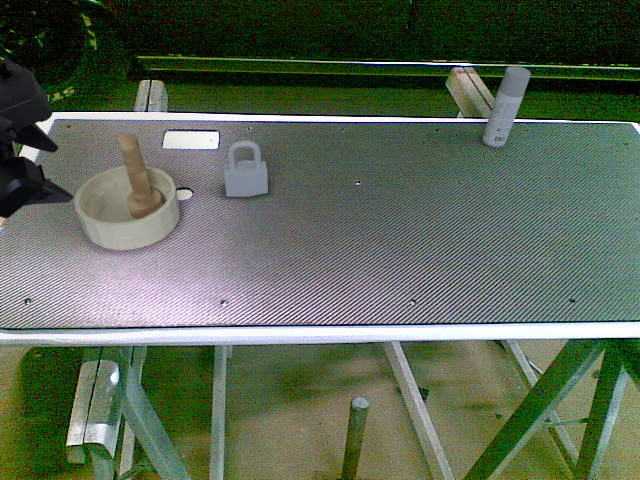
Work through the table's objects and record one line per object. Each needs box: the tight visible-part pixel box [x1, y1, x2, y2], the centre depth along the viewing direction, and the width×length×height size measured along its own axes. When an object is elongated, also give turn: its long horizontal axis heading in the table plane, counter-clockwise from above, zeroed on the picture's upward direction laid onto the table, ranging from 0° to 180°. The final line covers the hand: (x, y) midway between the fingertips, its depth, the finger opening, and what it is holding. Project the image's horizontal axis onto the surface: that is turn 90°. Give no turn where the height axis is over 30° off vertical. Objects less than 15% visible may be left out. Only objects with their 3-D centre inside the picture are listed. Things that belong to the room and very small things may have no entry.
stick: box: [117, 132, 163, 219], centre depth 72 cm, size 5×5×13 cm
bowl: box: [73, 165, 181, 251], centre depth 74 cm, size 14×14×6 cm
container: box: [481, 65, 532, 149], centre depth 93 cm, size 5×5×15 cm
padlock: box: [222, 139, 269, 198], centre depth 79 cm, size 7×4×10 cm, turn 102°
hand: (63, 173), depth 62 cm, fingers open, 9 cm apart
